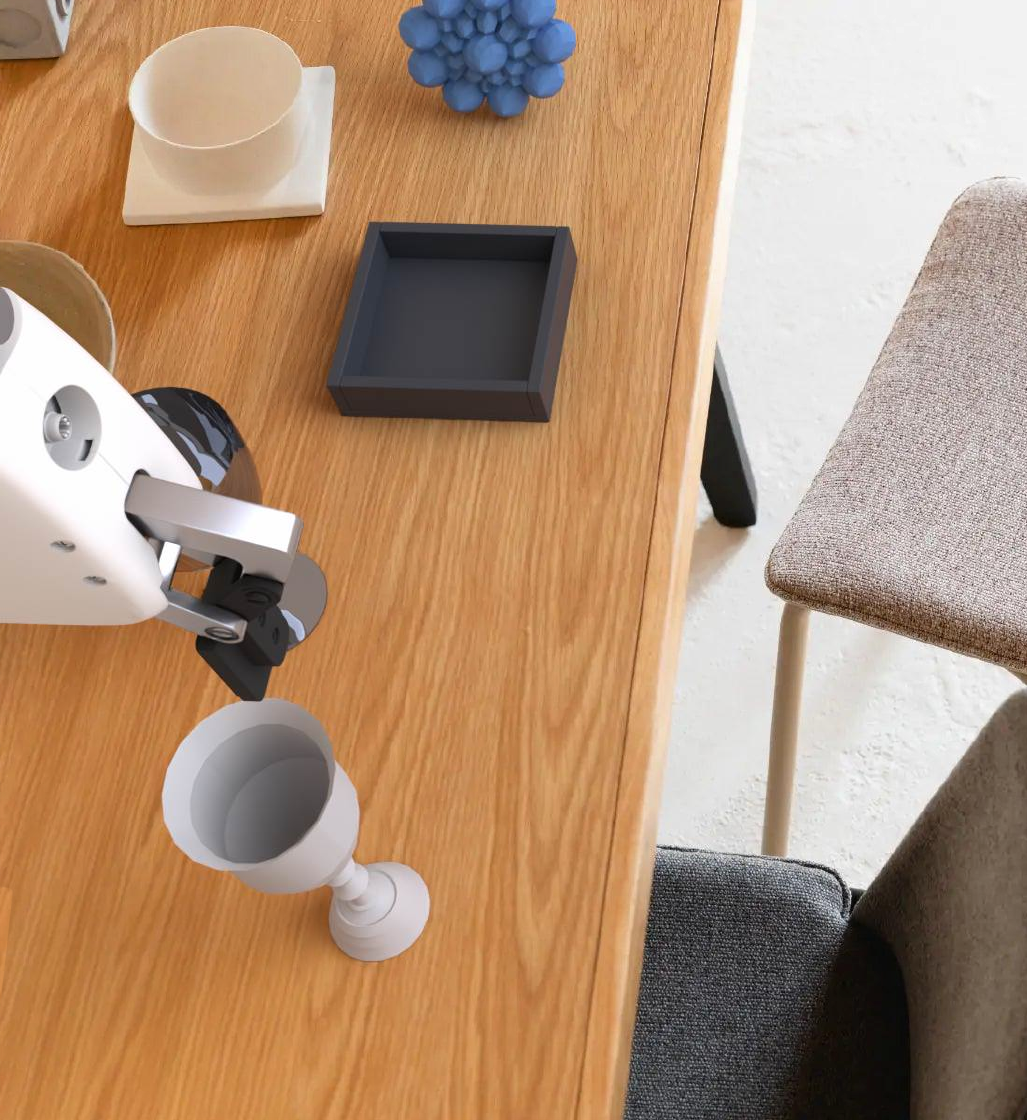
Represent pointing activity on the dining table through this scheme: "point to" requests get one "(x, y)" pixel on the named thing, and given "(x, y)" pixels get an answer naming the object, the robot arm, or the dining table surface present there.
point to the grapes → (488, 51)
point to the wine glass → (230, 487)
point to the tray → (455, 322)
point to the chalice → (287, 822)
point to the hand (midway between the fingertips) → (117, 654)
